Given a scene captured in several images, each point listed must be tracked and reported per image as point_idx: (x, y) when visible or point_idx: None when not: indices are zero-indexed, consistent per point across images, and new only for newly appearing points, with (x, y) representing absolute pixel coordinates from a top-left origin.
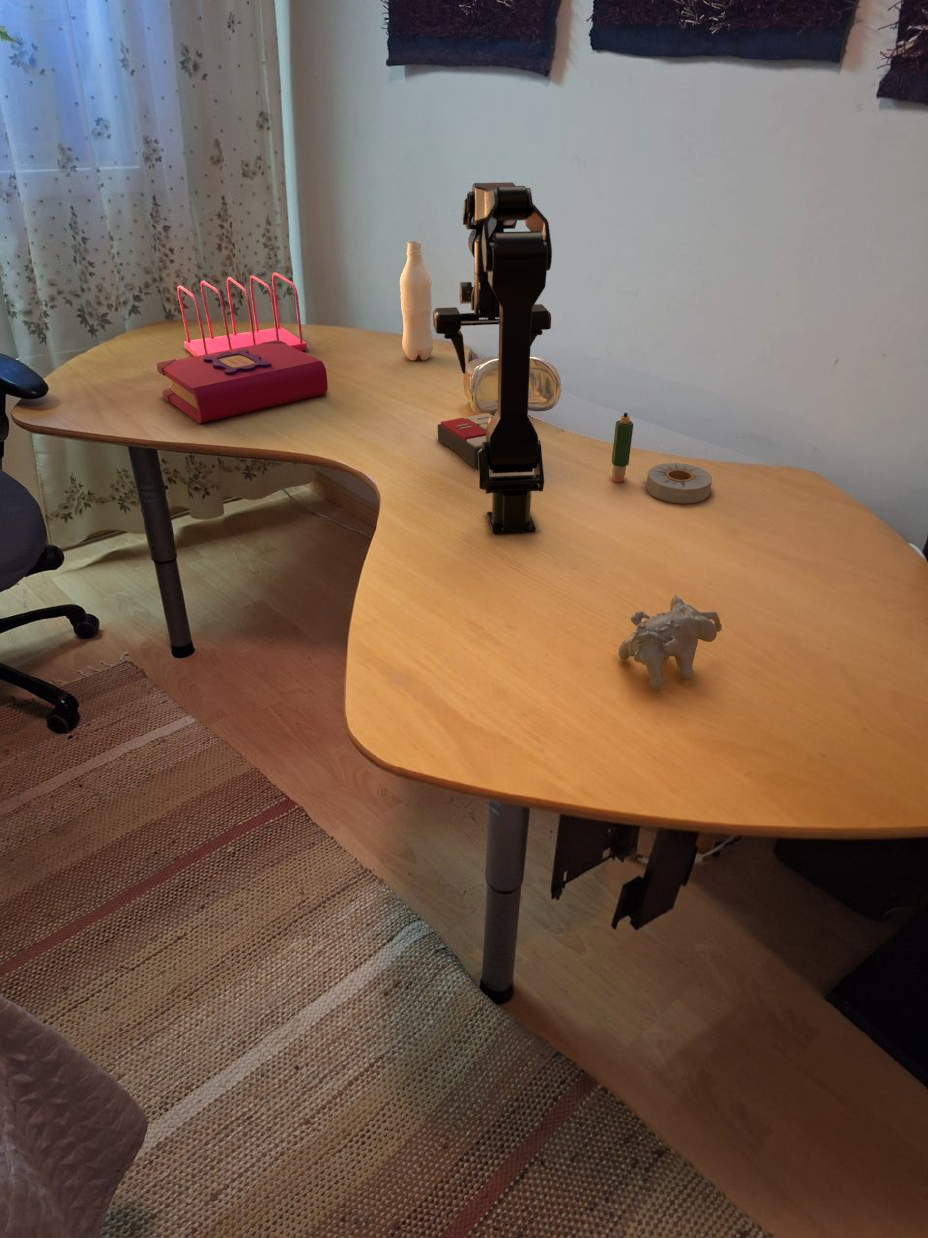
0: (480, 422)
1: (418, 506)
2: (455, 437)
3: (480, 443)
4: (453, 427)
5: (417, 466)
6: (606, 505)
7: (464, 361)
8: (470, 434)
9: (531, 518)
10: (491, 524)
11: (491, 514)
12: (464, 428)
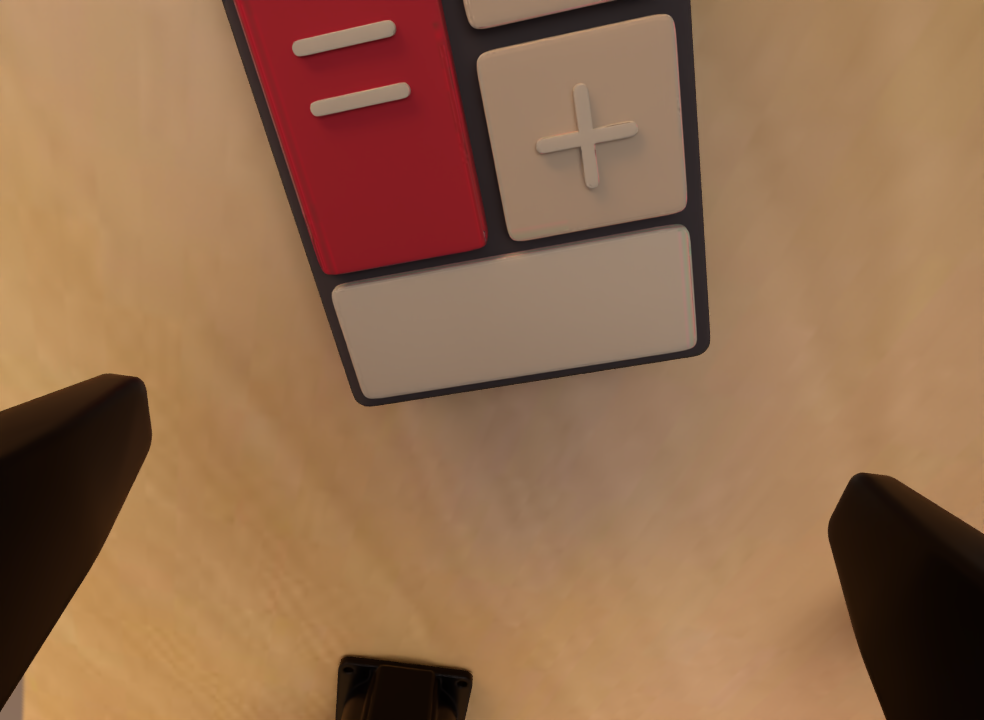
0: (499, 4)
1: (119, 558)
2: (281, 178)
3: (395, 379)
4: (275, 47)
5: (97, 240)
6: (732, 687)
7: (37, 631)
8: (366, 238)
9: (463, 716)
10: (338, 714)
11: (351, 677)
12: (349, 109)
